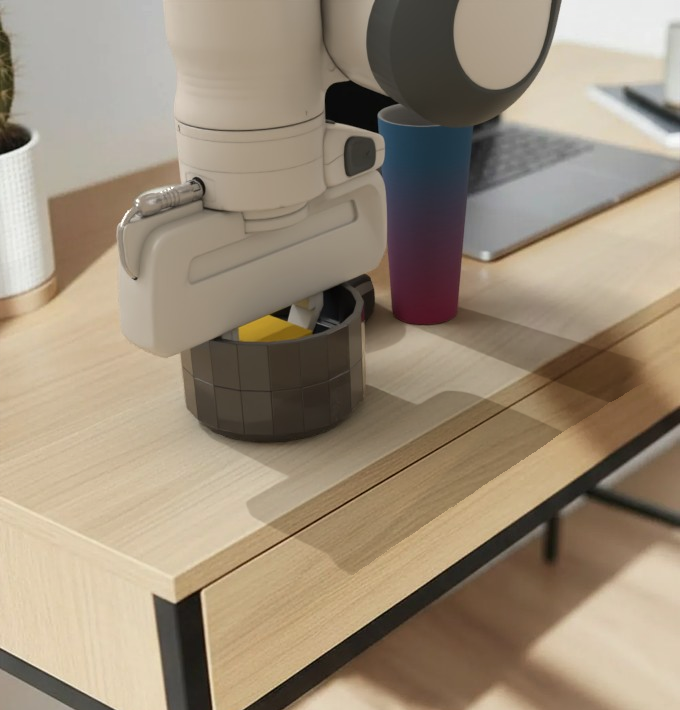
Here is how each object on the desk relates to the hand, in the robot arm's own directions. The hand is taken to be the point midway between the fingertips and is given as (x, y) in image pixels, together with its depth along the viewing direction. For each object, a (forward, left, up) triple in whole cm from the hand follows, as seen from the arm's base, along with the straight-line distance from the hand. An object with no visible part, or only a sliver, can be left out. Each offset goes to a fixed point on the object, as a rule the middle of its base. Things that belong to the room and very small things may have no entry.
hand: (267, 370), depth 79 cm
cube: (0, 0, -2) cm, 2 cm away
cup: (+2, -18, -3) cm, 19 cm away
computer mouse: (+7, -11, -3) cm, 14 cm away
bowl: (0, 0, -3) cm, 3 cm away
